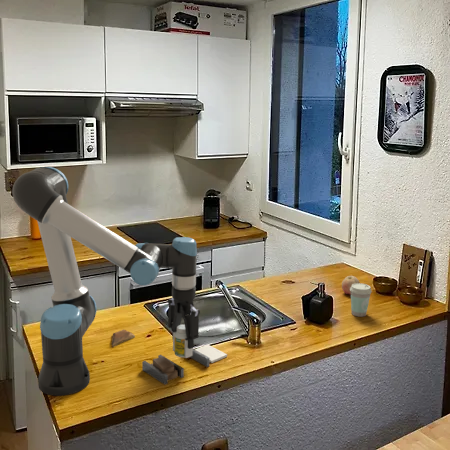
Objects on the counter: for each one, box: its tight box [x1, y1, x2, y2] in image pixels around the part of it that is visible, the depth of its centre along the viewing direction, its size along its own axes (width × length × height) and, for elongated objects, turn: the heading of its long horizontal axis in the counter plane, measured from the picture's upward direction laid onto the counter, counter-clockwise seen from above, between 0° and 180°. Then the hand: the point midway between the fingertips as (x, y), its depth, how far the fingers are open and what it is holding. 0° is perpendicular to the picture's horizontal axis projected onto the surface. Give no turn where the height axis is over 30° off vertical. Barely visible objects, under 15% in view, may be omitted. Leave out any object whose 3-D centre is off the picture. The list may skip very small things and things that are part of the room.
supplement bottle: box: [173, 323, 187, 358], centre depth 178 cm, size 5×5×10 cm
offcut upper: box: [152, 355, 174, 374], centre depth 174 cm, size 4×7×2 cm, turn 32°
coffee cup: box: [350, 283, 373, 318], centre depth 224 cm, size 9×8×12 cm
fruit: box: [341, 275, 360, 296], centre depth 247 cm, size 8×8×8 cm
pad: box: [194, 344, 228, 364], centre depth 188 cm, size 7×10×1 cm
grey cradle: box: [141, 348, 210, 386], centre depth 178 cm, size 18×12×3 cm, turn 133°
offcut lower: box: [150, 362, 179, 381], centre depth 175 cm, size 4×9×2 cm, turn 41°
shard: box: [111, 329, 136, 348], centre depth 198 cm, size 11×8×2 cm
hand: (182, 353), depth 179 cm, fingers closed on supplement bottle, 5 cm apart
